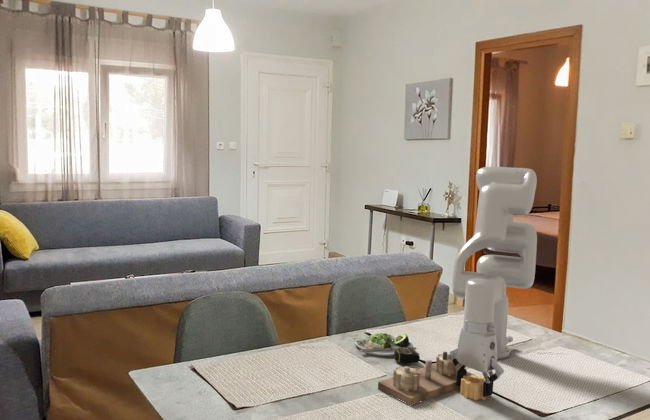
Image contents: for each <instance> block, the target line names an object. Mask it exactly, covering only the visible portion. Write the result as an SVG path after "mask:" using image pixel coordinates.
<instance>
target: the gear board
mask: <svg viewBox="0 0 650 420" xmlns="http://www.w3.org/2000/svg"><path fill="white" fill-rule="evenodd" d="M435 357H436V359H435V362H436V363H433V364H432V362H433V361H432V360H431V359H426V360H425V366H424V367H421V368H415V367H413V368H412V367H410V366H407V365H405V366H404V367H403V366H402V367H400V366H397V367H395V369H393V375H392V376H393V377H390V378H387V379H384V380H380V381H378V382H377V390H379V391H381V392H382V393H384V394H387V395H388V394H389V396H390V395H391V396H390V397H392V396H393V397H392V398H394V397H395V398H394V399H396V398H398V399H400V400H402V401H404V402H406V403H407V404H406V403H405V404H406V405H408V404H409V405H408V406H410V405H412V404H414V403H417V404H419V403H418V402H420V401H422V402H425V401H427V399H428V400H430V399H432V398H436V397H438V396H440V395H443V394H446V393H449V392H451V391H455V390H457V389H459V388H460V389H461V385H460V386H458V385H457V371H456V369H455V365H454V363H453V359H452V357H451V355H450V353H448V352H447V351H442V353H439V354H438V356H435ZM471 375H475V374H474V373H472V372H470V371H467V374H466V376H471ZM398 399H397V400H398ZM400 400H399V401H400ZM424 400H425V401H424ZM402 401H401V402H402ZM404 402H403V403H404ZM420 403H421V402H420ZM414 405H415V404H414ZM412 406H413V405H412Z"/></svg>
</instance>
